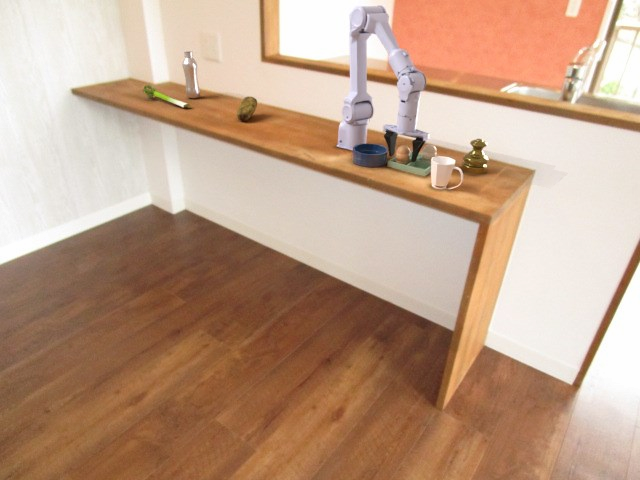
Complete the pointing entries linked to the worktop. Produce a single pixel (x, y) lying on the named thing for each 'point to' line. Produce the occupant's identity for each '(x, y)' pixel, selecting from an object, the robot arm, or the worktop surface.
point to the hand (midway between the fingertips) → (402, 158)
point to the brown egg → (403, 154)
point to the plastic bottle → (191, 75)
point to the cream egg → (428, 153)
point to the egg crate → (412, 165)
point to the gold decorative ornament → (475, 158)
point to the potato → (246, 108)
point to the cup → (443, 171)
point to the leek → (162, 96)
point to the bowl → (369, 155)
